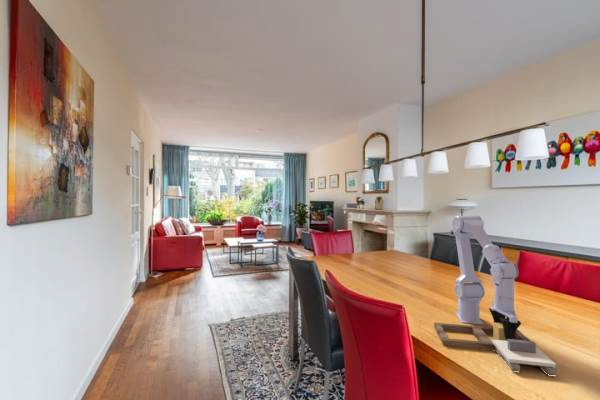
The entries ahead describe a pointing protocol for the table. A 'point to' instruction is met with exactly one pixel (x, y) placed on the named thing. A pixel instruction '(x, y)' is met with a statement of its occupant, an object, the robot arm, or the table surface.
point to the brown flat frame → (480, 341)
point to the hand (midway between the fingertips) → (504, 334)
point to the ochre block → (498, 332)
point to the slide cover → (523, 352)
